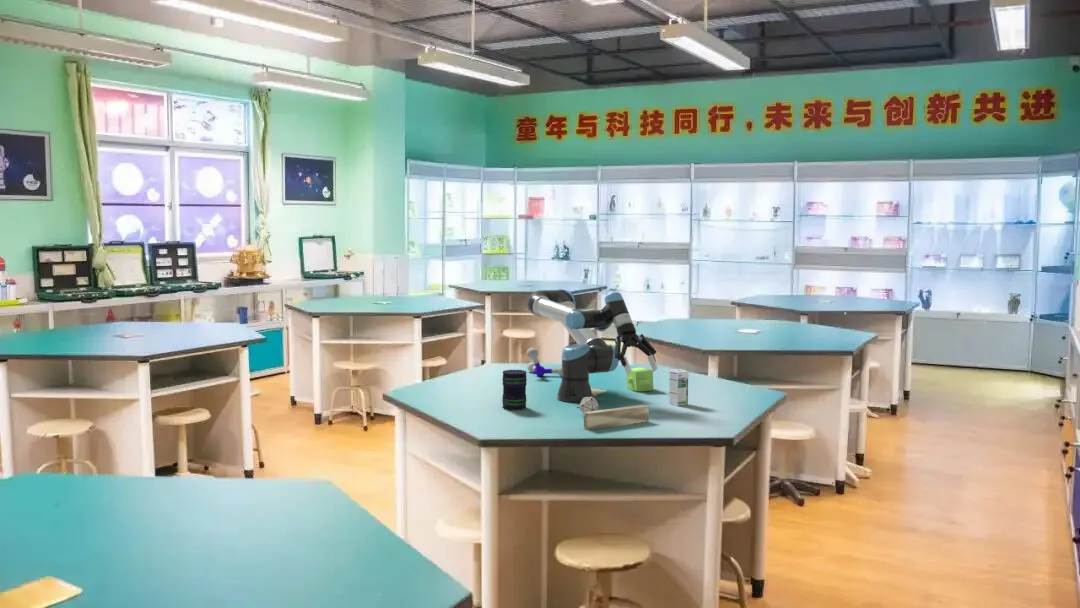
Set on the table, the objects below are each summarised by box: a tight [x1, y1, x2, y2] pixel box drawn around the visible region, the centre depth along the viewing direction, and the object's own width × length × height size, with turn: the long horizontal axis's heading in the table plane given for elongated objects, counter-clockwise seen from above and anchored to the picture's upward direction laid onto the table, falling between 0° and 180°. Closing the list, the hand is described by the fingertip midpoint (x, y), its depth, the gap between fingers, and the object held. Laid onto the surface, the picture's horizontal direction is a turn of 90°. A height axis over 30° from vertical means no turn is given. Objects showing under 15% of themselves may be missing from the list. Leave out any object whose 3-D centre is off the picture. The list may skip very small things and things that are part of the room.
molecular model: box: [526, 347, 562, 377], centre depth 432 cm, size 21×21×15 cm
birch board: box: [583, 404, 650, 431], centre depth 325 cm, size 3×28×6 cm, turn 122°
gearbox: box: [625, 367, 654, 392], centre depth 398 cm, size 18×10×10 cm, turn 18°
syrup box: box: [668, 368, 689, 407], centre depth 365 cm, size 6×6×14 cm
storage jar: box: [501, 369, 527, 411], centre depth 353 cm, size 10×10×15 cm
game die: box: [576, 394, 602, 415], centre depth 341 cm, size 9×8×10 cm
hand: (642, 371), depth 355 cm, fingers open, 13 cm apart
